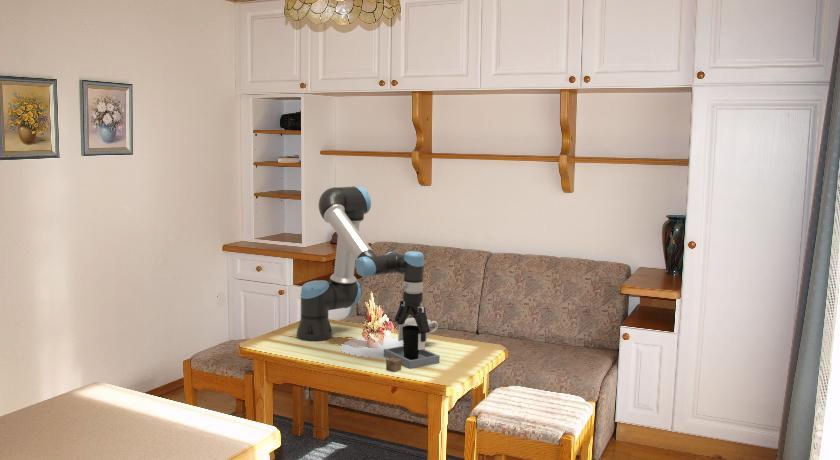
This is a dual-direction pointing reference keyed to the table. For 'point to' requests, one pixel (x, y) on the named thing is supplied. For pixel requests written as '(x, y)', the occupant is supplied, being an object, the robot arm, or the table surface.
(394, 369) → the walnut block
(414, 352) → the cup
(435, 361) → the tray
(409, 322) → the teacup
